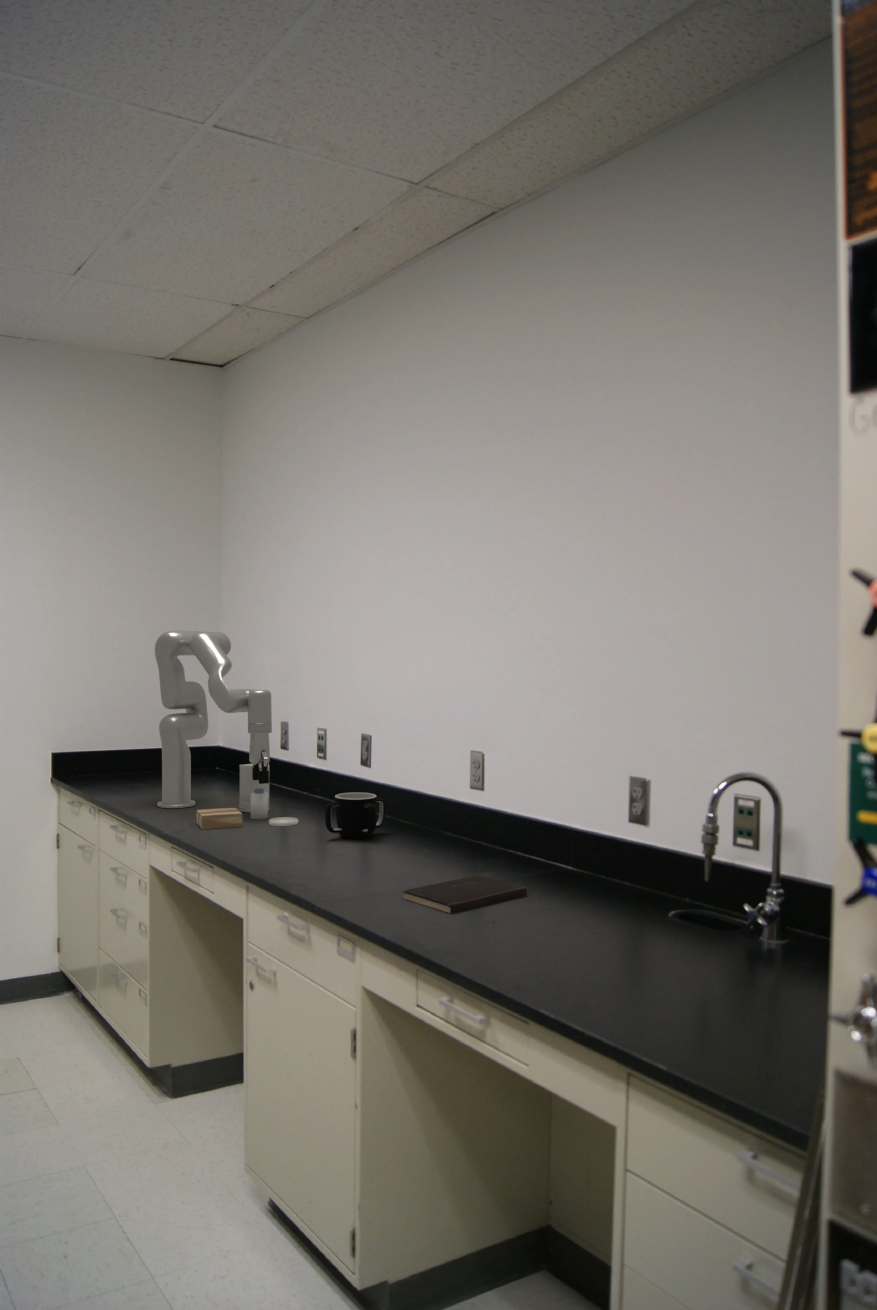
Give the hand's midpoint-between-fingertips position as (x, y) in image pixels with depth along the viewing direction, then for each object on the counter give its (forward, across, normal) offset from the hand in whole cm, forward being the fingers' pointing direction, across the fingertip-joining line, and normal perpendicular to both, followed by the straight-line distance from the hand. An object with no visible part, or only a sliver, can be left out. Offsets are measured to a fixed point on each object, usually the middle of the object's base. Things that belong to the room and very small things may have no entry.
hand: (260, 781), depth 312 cm
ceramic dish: (+12, +12, +4) cm, 18 cm away
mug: (+13, +39, +20) cm, 46 cm away
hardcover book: (+15, +112, +22) cm, 115 cm away
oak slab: (+12, +7, -14) cm, 20 cm away
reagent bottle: (+12, -1, 0) cm, 12 cm away
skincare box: (+12, -14, 0) cm, 18 cm away
